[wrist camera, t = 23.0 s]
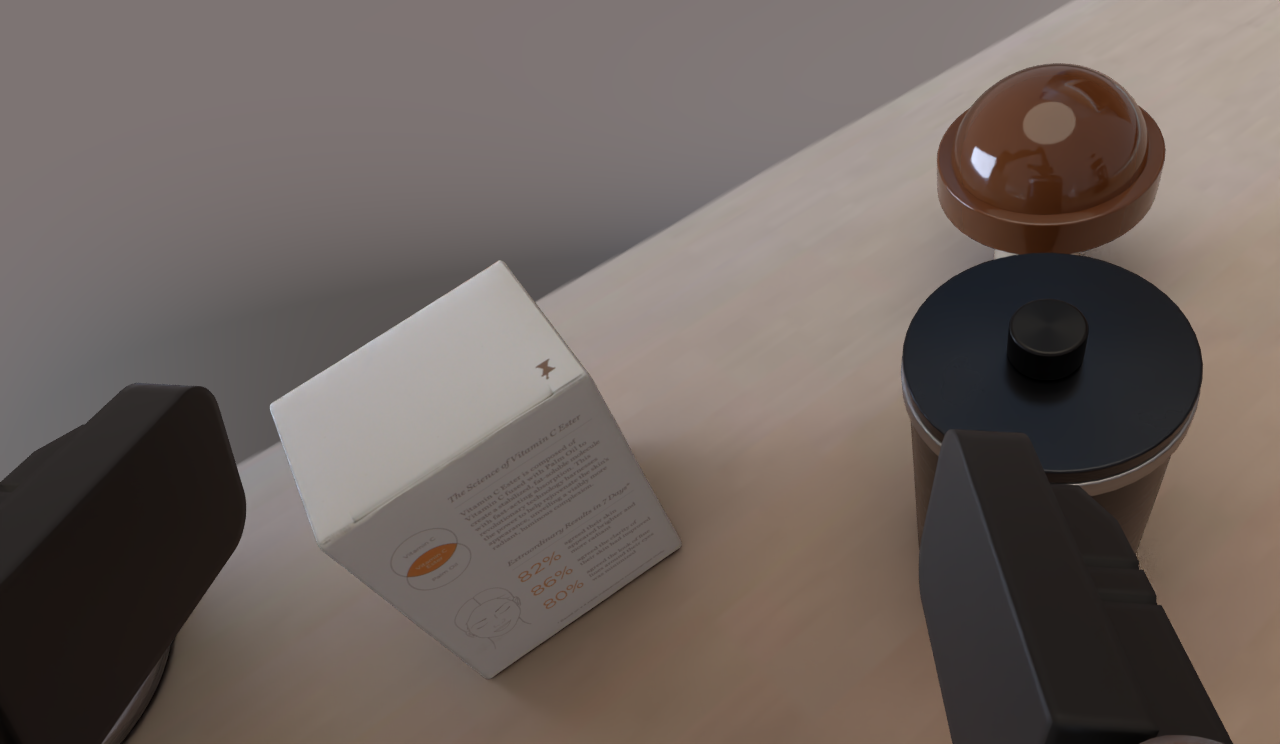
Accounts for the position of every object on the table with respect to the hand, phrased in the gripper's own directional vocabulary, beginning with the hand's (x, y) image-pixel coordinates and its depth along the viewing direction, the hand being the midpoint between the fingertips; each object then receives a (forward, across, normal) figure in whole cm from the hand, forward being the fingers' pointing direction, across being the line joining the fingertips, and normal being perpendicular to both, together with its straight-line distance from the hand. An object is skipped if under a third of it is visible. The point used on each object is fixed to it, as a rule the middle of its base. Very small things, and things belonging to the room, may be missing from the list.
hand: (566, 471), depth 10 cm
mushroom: (+24, -13, +9) cm, 28 cm away
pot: (+14, -11, +13) cm, 22 cm away
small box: (+16, +4, +16) cm, 23 cm away
